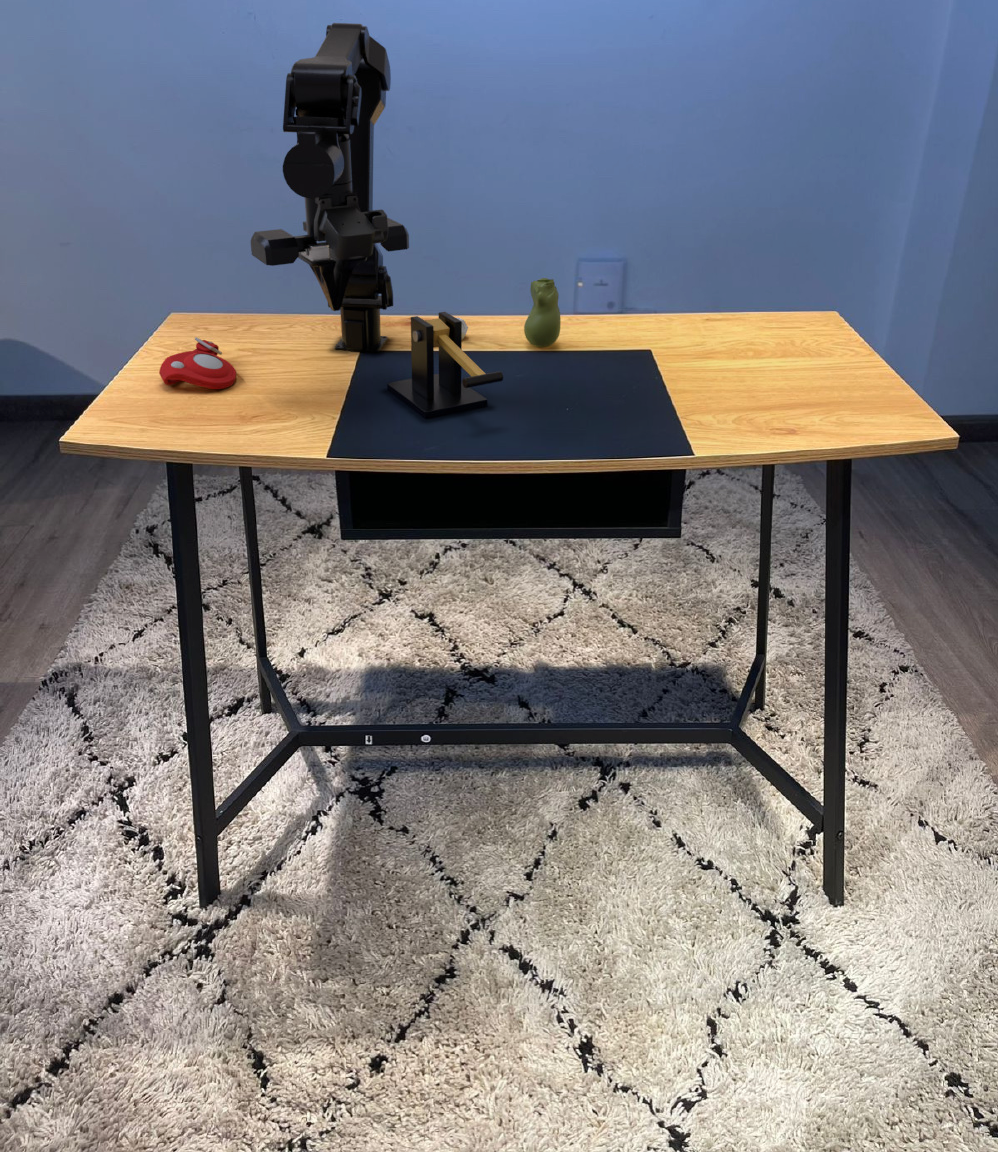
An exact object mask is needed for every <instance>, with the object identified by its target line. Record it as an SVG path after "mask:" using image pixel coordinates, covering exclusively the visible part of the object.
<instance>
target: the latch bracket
mask: <svg viewBox="0 0 998 1152" xmlns="http://www.w3.org/2000/svg"><path fill="white" fill-rule="evenodd" d="M438 318H440V319H441V320H442V321H443V322H444V323H445V324H446V325H447V326H448V327H449V328H450V330H449V338H450V339H451V340H452V341H453V342H454V343H455V344H456V345H457V346H458V347H459V348H460V349H461V350H462V347H463V346H462V343H463V342H462V341H463V340H462V321H460V320H459V319H457V318H458V317H455V316H454V315H451V314H450V313H448V312H447V311H441V312H438ZM434 351H435V349H434V331H433V325H431V324H429V323H428V322H426V321H425V320H424V319H423V318H421V317H420V316H418V315H415V316H410V352H411V353H410V355H411V359H410V361H411V378H407V379H402V380H398V381H392V382H387V383H386V388H387V389H386V390H387V392H389V393H390V394H392V395H393V396H394V397H395V398H397V400H400V401H401V402H402V403H403V404H404V405H406V406H407V407H409V408H410V409H411V410H412V411H414V412H415V413H416V414H418V415H419V416H420V417H421V418H423V419H425V420H429V419H435V418H439V417H444V416H449V415H453V414H458V413H463V412H468V411H472V410H478V409H482V408H487V407H488V398H486V397H485V396H483V395H482V394H480V393H478V391H476V390H474V389H473V388H472V387H469V388H464V386H463V383H462V367H461V366H460V365H459V364H458V363H457V362H456V361H455V360H454V359H453V358H452V356H451V355H450V354H449V353H448V352H447V351H446V350H445V349H444V348H443V347H442V346H441V347H438V373H435V358H434V357H435V354H434ZM462 351H463V350H462Z"/></svg>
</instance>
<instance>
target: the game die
mask: <svg viewBox="0 0 998 1152" xmlns="http://www.w3.org/2000/svg"><path fill="white" fill-rule="evenodd" d="M456 318H457V319H459V320H460V321H462V341H463V340H464V338H465V337H466V335H467V332H468V330H469V326H468V325H467V323H466V321H465V320H464V319H462V318H460V317H456Z"/></svg>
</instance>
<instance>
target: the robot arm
mask: <svg viewBox="0 0 998 1152" xmlns="http://www.w3.org/2000/svg"><path fill="white" fill-rule="evenodd" d="M390 64H391V63H390V60H389V56H388V51H387V49H386V47H384V46H383V45H382V44H381V43H379V41H377V40H375V38H373V37H372V36H371V35H370V32H369V28H368V26H367V25H363V24H362V23H352V22H351V23H348V22H333V23H332V24H327V25H326V31H325V38H324V40H323V42H322V43H321V45H320V47H319V49H318V50H317V53H316V54H315V55H314V56H313V57H308V58H300V59H299V60H297V61H295V62H294V64H293V65H292V67H291V68H290V69H291V70H290V72H288V73H287V74H286V77H285V78H286V79H285V91H284V103H283V104H284V106H283V119H282V131H283V132H284V133H296V144H295V145H294V146H292V147H291V148H290V149H289V150H287V153H286V154H285V156H284V160H283V163H282V175H283V178H284V181H285V183H286V184H287V186H288V187H289V189H290V190H291V191H292V192H294V194H296V195H298V196H300V197H302V198H304V209H305V221H302V228H303V229H302V230H303V231H304V232H305V233H306V234H303V235H292V234H290V233H288V232H287V231H285V230H284V229H282V228H279V229H268V230H258V231H254V233H253V235H252V236H251V239H250V252H251V256H252V257H254V258H255V259H257V260H258V261H260V262H261V263H263V264H264V265H265V266H273V267H274V266H281V265H290V264H294V263H295V262H296V260H297V259H299V260H301V261H303V263H306V264H307V265H309V267H310V269H311V271H312V273H313V274H314V276H315V278H316V280H317V282H318V284H319V286H320V288H321V290H322V292H323V295H324V297H325V299H326V301H327V307H328V308H330V309H331V311H332V312H337V311H340V313H339V315H340V329H341V339H340V340H339V341H338V342H337V343H336V344H335V346H334V350H335V351H341V352H352V353H353V352H354V353H355V352H356V353H364V354H365V353H366V354H378V353H379V352H380V351H381V350H382V349H383V347H384V346H385V344H386V343H387V341H389V337H388V336H386V335H382V332H381V331H382V330H381V310H383V311H384V310H385V311H386V310H388V308H391V307H393V306H394V290H393V285H392V284H393V283H392V278H391V276H390V275H389V273H388V269H387V266H386V265H384V255H383V252H381V249H380V248H379V245H378V244H380V246H381V247H382V248H383V249H384V250H385V251H386V252H395V251H404V250H408V249H409V248H410V235H409V232H408V229H407V228H406V226H405V225H404V224H402V223H400V222H398V221H396V220H394V219H392V218H389V217H388V215H387V213H386V212H385V211H384V209H374V207H373V205H374V201H373V200H374V142H375V141H374V139H375V138H374V136H375V135H374V133H375V131H374V130H375V125H376V123H377V121H378V120H379V118H380V117H381V115H382V113H383V111H384V110H385V108H386V103H387V92H389V91H390V90H391V83H392V80H391V79H392V77H391V75H392V74H391V65H390Z"/></svg>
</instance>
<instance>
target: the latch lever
mask: <svg viewBox="0 0 998 1152" xmlns="http://www.w3.org/2000/svg"><path fill="white" fill-rule="evenodd" d="M424 321H426V322H428V323H429V324H431V325H433V331H434V348H435V349H436V348H439V347H441V346H442V347H443V348H444V349H445V350H446V351H447V352H448V353H449V354H450V355H451V356H452V358H453V359H454V360H455V361H456V362H457V363H458V364H459V365H460V366H461V369H463V370H464V371H465V372H466V373H467V374H468V375H469V376H468V377H463V378H462V380H461V382H462V383H463V386H464V388H473V387H474V388H475V387H478V386H479V387H480V386H483V385H489V384H493V383H494V384H495V383H499V382H503V380H504V373H503V372H502V371H500V370H499V371H493V372H488V373H486V372H485V371H483V369H481V368H480V366H478V365H477V363H476V362H475V361H474V360H472V359H471V357H469V355H468V354H466V353H465V351H464V350H461V349H460V348H459V347H458V346H457V345H456V344H455V343H454V342H453V341H452V340H451V339H450V338H449V330H450V328H449V327H448V326H447V325H446V324H445V323H444V322H443V321H442V320H441V319H440V318H439V317H438V318H433V319H426V320H424Z"/></svg>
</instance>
